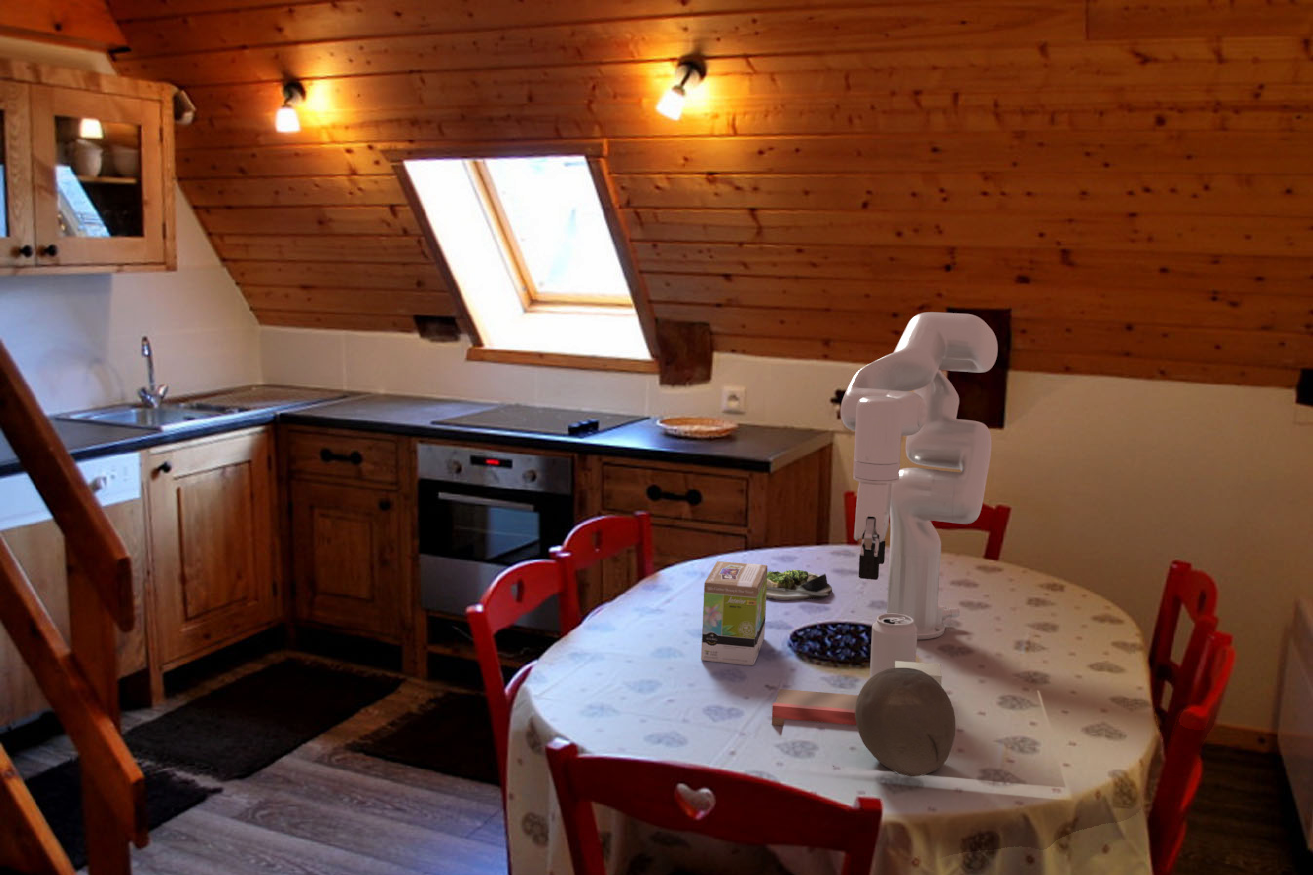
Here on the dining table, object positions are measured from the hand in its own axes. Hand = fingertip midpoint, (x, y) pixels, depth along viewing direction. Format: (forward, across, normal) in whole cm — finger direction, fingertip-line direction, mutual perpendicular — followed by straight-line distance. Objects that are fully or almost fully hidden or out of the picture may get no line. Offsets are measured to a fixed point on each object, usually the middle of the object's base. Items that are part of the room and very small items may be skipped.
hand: (871, 570), depth 205 cm
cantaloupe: (+20, +32, +9) cm, 39 cm away
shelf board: (+20, +15, 0) cm, 25 cm away
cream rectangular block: (+19, +15, +9) cm, 26 cm away
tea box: (+20, -8, -25) cm, 33 cm away
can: (+20, 0, +4) cm, 20 cm away
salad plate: (+20, -48, -21) cm, 56 cm away
